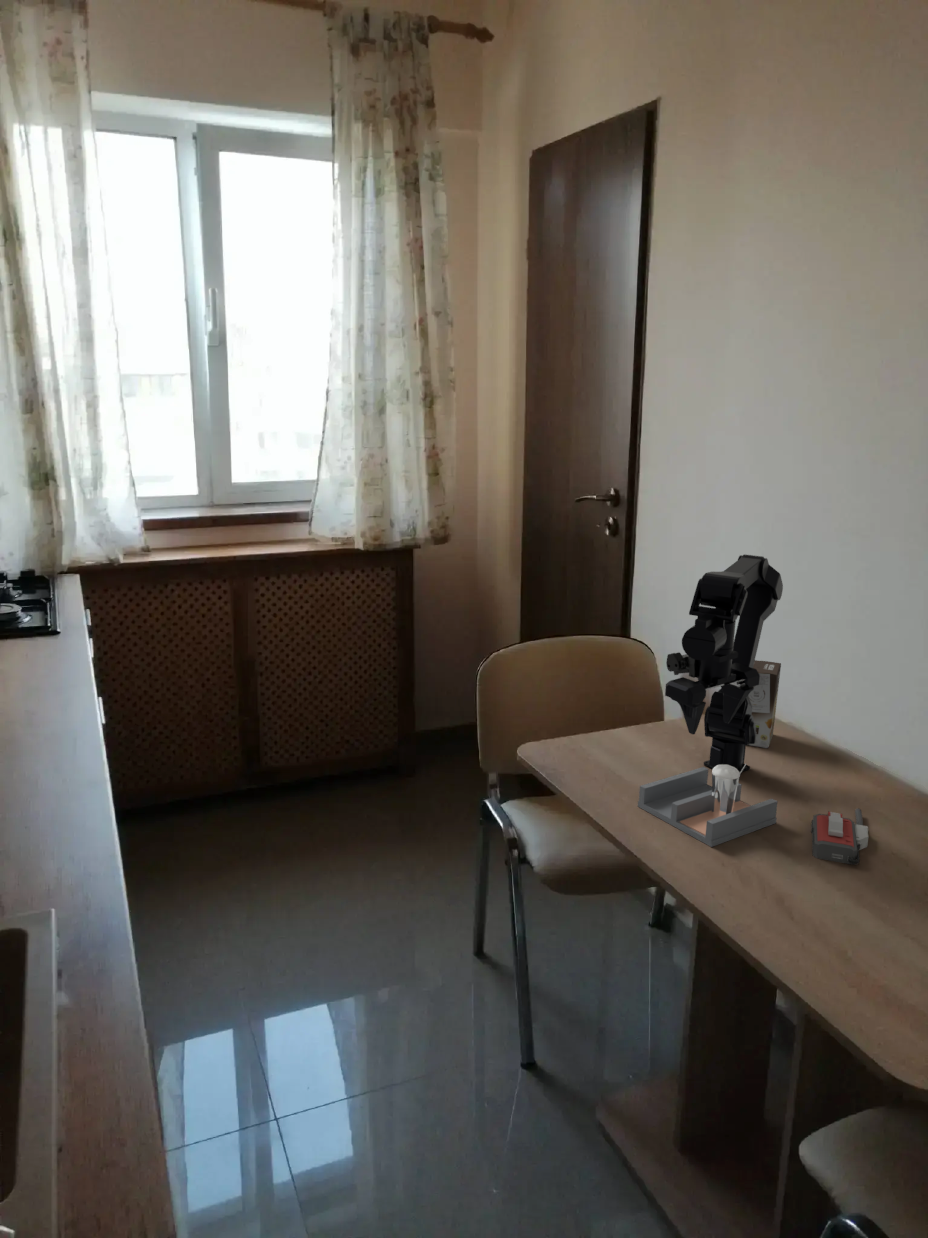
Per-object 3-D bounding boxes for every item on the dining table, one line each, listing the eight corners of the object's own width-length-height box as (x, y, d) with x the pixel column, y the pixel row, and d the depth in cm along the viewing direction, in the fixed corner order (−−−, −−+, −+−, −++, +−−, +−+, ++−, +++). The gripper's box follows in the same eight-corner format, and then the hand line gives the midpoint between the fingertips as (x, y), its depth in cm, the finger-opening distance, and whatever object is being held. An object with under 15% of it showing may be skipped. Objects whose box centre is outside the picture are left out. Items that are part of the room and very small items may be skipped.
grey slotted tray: (700, 786, 171) (702, 766, 170) (776, 823, 158) (778, 801, 156) (637, 806, 163) (639, 785, 162) (711, 847, 149) (713, 824, 148)
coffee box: (769, 749, 189) (777, 674, 185) (737, 744, 192) (744, 670, 188) (773, 734, 198) (781, 662, 193) (742, 729, 200) (750, 658, 196)
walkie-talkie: (871, 874, 143) (863, 818, 161) (874, 848, 142) (867, 795, 160) (810, 863, 146) (810, 809, 164) (814, 838, 144) (813, 786, 163)
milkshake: (741, 824, 154) (747, 769, 152) (708, 820, 155) (713, 765, 153) (739, 812, 158) (745, 758, 156) (707, 809, 160) (712, 755, 157)
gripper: (715, 625, 172) (709, 704, 177) (644, 642, 162) (639, 724, 166) (765, 640, 164) (757, 722, 168) (693, 659, 153) (686, 745, 158)
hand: (709, 728), depth 165 cm, fingers open, 9 cm apart
